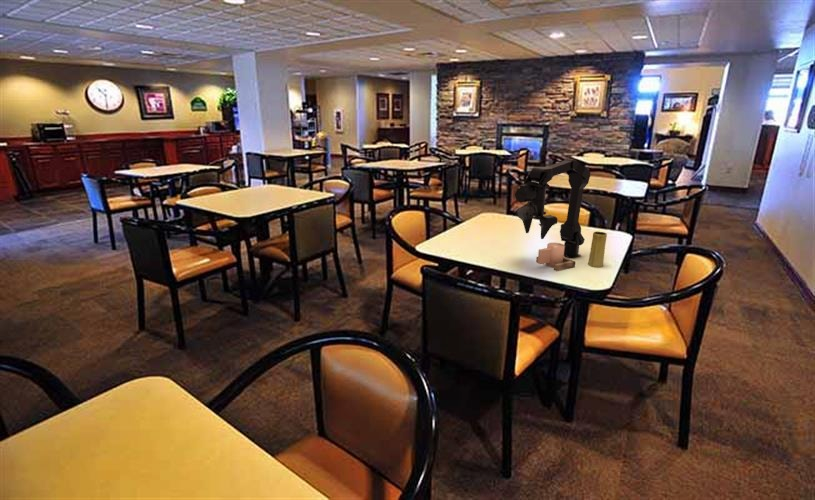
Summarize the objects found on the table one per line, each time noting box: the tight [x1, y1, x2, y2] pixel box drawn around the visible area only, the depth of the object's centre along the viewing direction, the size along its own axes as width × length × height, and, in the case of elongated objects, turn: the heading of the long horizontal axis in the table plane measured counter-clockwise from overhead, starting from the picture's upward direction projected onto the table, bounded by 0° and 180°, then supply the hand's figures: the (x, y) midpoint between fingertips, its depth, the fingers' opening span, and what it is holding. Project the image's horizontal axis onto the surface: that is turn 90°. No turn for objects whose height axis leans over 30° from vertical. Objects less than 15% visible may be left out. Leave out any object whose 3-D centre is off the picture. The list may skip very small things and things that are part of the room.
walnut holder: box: [535, 256, 576, 272], centre depth 186 cm, size 10×12×2 cm
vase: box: [587, 231, 608, 268], centre depth 184 cm, size 6×6×14 cm
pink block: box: [536, 242, 565, 269], centre depth 184 cm, size 12×7×9 cm, turn 116°
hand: (534, 236), depth 181 cm, fingers open, 9 cm apart
